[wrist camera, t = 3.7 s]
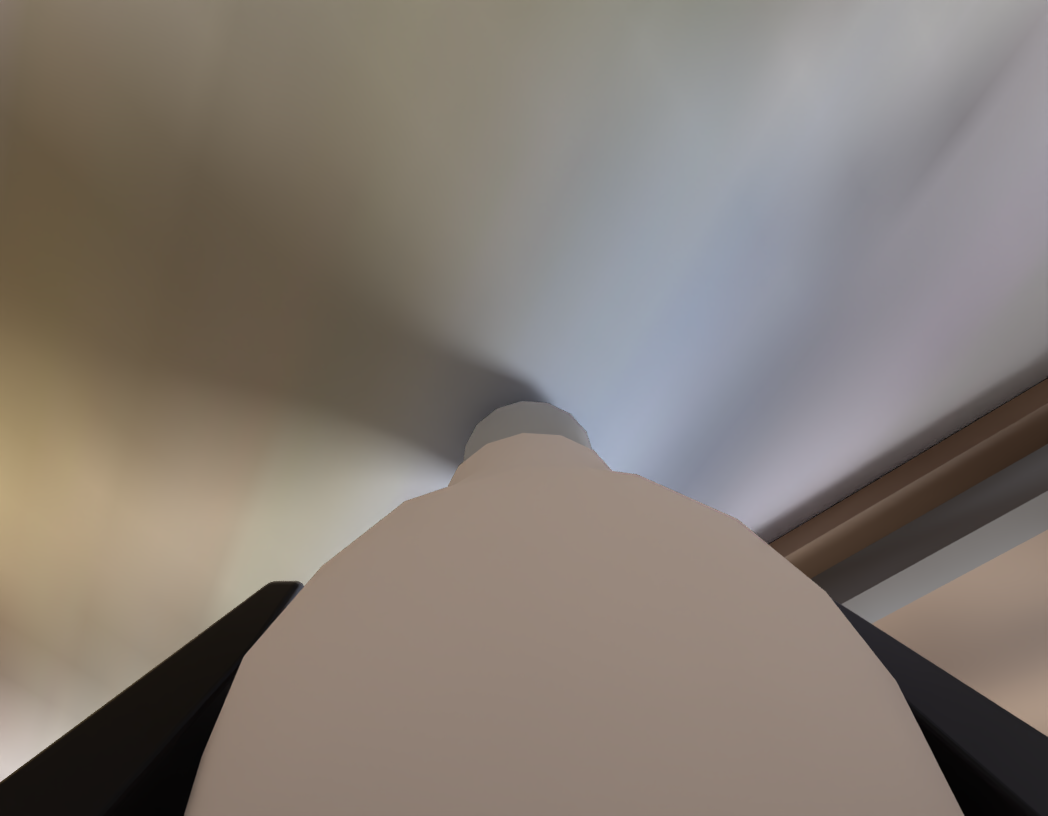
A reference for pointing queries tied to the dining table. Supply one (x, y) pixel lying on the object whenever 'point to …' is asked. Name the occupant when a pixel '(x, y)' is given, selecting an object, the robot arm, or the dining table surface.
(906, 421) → the dining table surface
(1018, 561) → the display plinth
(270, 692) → the light bulb
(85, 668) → the dining table surface
